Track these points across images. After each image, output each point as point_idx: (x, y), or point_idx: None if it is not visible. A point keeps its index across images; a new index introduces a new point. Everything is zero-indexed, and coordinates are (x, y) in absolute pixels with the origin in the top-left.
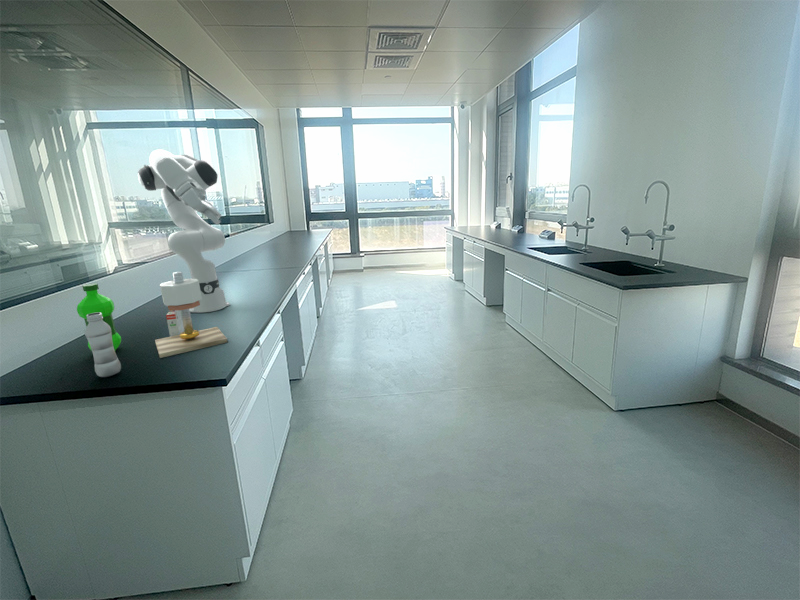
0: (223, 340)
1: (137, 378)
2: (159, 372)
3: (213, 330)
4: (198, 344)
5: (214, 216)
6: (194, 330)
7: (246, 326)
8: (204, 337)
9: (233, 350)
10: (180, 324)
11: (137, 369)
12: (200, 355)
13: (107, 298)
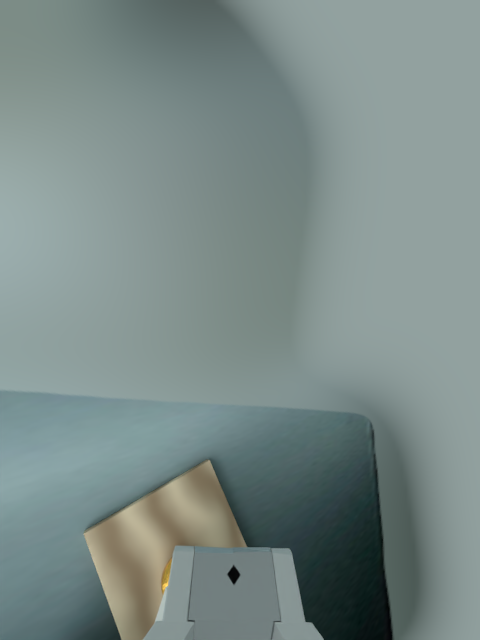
0: (212, 467)
1: (358, 587)
2: (339, 552)
3: (123, 530)
4: (233, 525)
5: (310, 627)
6: (168, 575)
7: (82, 440)
8: (182, 532)
9: (261, 429)
10: None
11: (321, 623)
12: (273, 498)
13: None
